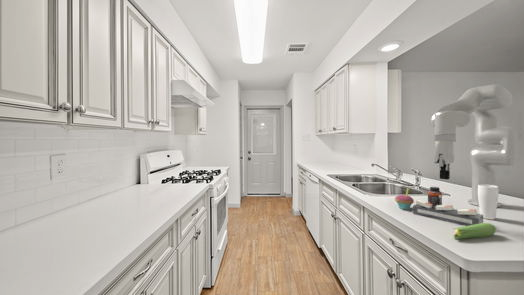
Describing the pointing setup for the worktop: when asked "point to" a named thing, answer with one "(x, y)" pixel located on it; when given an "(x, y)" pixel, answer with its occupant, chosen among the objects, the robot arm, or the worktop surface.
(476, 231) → the edible corn
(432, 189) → the supplement bottle
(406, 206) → the cupcake
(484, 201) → the drinking glass
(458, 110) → the robot arm
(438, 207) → the plate
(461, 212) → the block
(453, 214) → the rocker switch panel
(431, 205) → the rocker
